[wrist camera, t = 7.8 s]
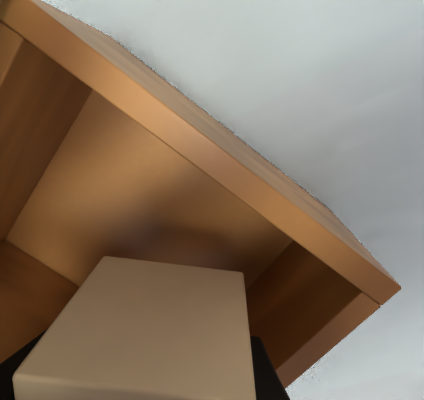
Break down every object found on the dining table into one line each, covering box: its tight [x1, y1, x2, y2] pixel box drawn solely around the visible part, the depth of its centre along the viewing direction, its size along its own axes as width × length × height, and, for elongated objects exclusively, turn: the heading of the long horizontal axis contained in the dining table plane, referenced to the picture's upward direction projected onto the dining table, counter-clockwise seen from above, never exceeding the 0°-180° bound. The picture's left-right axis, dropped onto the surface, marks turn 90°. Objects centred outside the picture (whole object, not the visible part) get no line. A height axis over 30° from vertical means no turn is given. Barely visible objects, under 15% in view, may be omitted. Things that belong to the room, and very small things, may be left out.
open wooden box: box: [0, 0, 401, 389], centre depth 12 cm, size 13×12×6 cm
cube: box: [12, 256, 256, 400], centre depth 8 cm, size 4×4×4 cm
